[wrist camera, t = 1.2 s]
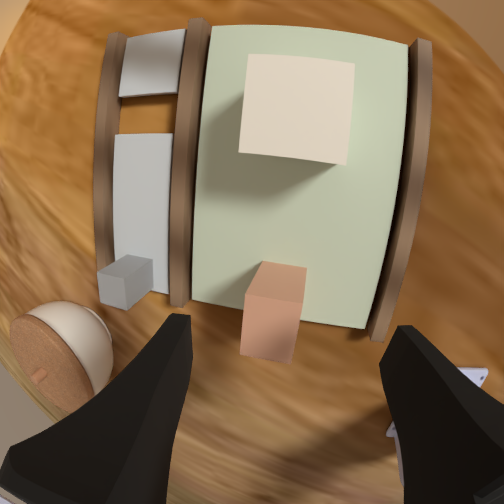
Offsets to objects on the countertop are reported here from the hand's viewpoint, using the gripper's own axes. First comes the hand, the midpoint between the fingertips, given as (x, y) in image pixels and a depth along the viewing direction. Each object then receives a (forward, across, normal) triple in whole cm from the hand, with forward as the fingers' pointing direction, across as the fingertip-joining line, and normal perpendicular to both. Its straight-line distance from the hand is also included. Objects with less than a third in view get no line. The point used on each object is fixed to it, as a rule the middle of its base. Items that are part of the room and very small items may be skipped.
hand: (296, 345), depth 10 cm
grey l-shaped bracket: (+14, +10, +1) cm, 17 cm away
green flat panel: (+12, -1, -3) cm, 13 cm away
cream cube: (+12, -1, -6) cm, 13 cm away
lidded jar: (+14, +18, +15) cm, 27 cm away
